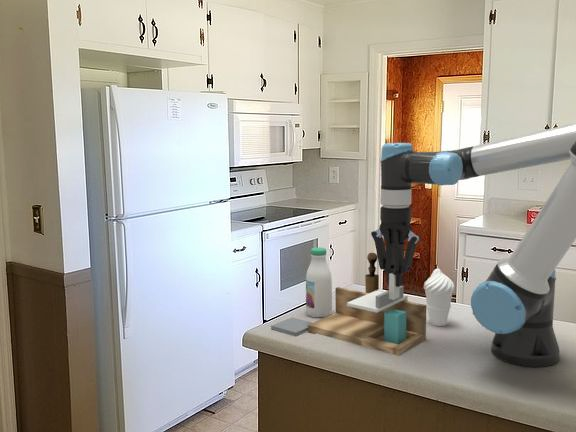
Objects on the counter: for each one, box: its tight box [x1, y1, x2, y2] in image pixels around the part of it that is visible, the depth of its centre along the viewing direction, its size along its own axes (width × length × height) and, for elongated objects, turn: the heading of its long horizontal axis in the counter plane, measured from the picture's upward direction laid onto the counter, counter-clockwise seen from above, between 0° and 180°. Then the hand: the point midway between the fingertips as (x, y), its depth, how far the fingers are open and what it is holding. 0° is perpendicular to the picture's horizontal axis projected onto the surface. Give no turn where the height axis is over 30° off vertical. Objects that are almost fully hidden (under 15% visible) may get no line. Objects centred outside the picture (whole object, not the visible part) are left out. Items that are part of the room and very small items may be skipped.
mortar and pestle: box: [364, 252, 380, 293], centre depth 171 cm, size 7×6×18 cm
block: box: [384, 309, 406, 345], centre depth 146 cm, size 4×4×8 cm
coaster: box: [270, 316, 313, 337], centre depth 159 cm, size 9×9×1 cm
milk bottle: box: [305, 247, 333, 318], centre depth 169 cm, size 8×8×20 cm
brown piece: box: [307, 286, 427, 357], centre depth 151 cm, size 28×14×10 cm, turn 49°
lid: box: [347, 285, 409, 313], centre depth 149 cm, size 9×15×11 cm, turn 139°
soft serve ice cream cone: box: [423, 268, 455, 327], centre depth 159 cm, size 8×8×16 cm
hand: (394, 297), depth 145 cm, fingers closed
